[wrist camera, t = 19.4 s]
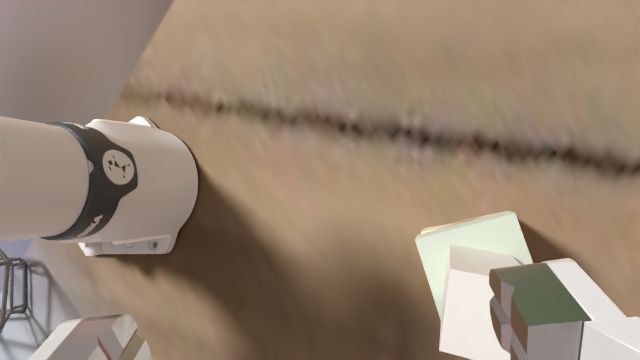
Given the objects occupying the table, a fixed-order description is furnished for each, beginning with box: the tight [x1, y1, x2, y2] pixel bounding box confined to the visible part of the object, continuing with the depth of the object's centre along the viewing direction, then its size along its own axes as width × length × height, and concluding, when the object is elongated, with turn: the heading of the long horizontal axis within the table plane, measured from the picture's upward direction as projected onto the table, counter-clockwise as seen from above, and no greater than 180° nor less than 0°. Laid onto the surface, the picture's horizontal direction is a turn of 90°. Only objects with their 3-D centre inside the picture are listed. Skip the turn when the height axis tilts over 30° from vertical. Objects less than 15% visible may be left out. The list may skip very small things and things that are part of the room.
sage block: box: [415, 211, 533, 320], centre depth 32 cm, size 8×8×4 cm
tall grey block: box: [439, 244, 521, 360], centre depth 25 cm, size 4×4×11 cm
